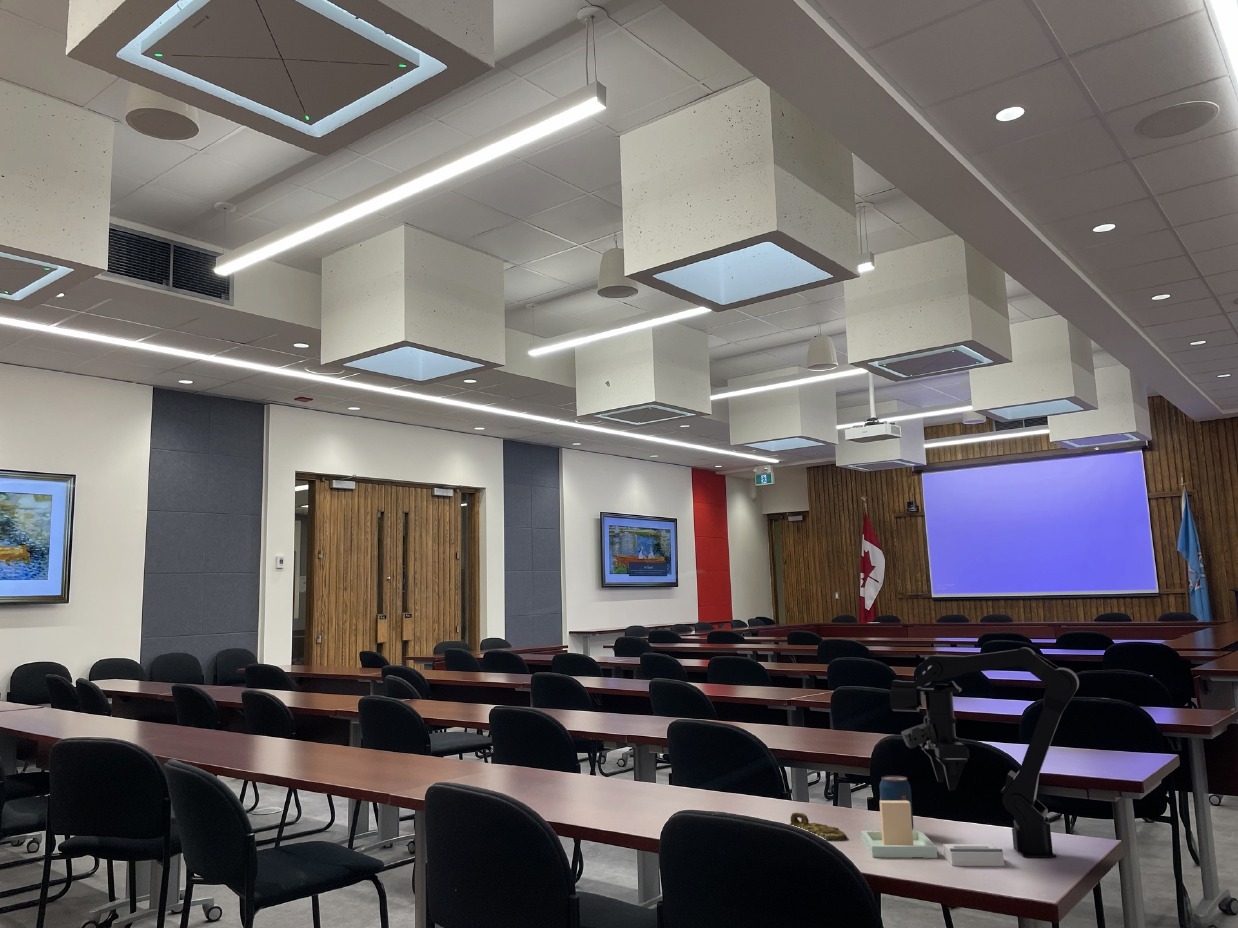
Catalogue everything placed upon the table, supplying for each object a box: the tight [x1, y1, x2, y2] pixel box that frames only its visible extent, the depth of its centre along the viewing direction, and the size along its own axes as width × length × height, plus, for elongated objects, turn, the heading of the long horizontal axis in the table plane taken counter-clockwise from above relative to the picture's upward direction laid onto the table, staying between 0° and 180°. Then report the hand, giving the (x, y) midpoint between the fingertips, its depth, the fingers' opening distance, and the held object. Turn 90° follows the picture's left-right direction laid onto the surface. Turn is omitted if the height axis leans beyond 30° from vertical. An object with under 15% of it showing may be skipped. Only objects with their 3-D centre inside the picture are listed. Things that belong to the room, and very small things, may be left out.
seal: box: [789, 812, 848, 842], centre depth 198 cm, size 9×5×15 cm
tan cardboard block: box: [878, 799, 913, 845], centre depth 185 cm, size 6×2×9 cm, turn 84°
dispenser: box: [942, 843, 1005, 867], centre depth 174 cm, size 10×6×3 cm, turn 84°
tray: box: [860, 830, 938, 859], centre depth 184 cm, size 13×13×2 cm
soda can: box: [879, 775, 915, 831], centre depth 199 cm, size 7×7×12 cm
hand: (945, 786), depth 189 cm, fingers open, 9 cm apart
